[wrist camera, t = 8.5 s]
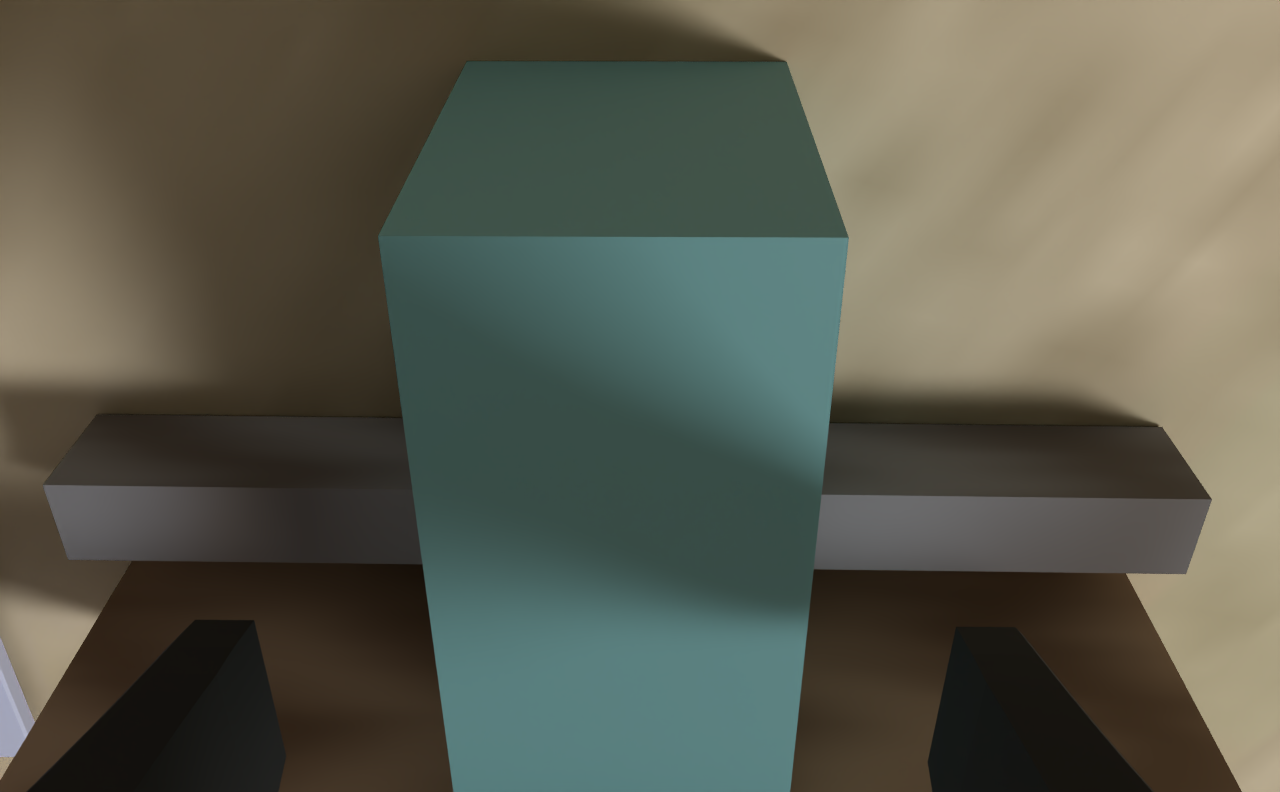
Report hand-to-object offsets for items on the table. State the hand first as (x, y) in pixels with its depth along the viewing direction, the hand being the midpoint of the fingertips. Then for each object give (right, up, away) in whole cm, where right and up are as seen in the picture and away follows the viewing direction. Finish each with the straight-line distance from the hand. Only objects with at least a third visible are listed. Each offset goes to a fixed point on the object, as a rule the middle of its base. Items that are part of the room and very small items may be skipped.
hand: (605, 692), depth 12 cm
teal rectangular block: (0, +4, +6) cm, 8 cm away
